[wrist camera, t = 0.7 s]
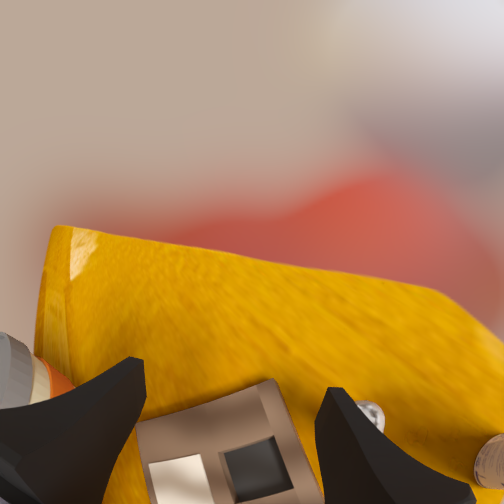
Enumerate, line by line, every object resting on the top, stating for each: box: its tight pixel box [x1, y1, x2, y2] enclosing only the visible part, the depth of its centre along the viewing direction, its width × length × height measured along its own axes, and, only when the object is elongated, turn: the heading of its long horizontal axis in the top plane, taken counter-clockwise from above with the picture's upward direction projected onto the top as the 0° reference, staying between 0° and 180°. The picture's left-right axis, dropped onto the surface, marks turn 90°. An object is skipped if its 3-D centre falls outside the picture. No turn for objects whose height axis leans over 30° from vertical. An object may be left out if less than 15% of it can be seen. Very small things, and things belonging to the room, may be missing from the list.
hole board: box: [135, 378, 325, 504], centre depth 20 cm, size 16×16×2 cm
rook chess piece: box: [355, 400, 385, 433], centre depth 18 cm, size 4×4×8 cm
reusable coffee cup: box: [0, 332, 76, 409], centre depth 23 cm, size 13×13×15 cm
